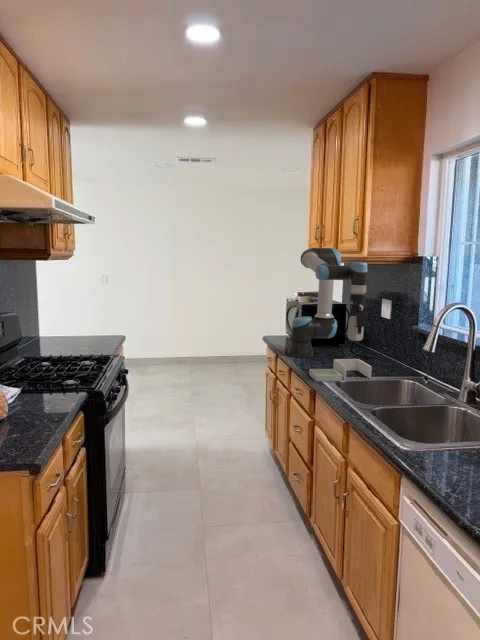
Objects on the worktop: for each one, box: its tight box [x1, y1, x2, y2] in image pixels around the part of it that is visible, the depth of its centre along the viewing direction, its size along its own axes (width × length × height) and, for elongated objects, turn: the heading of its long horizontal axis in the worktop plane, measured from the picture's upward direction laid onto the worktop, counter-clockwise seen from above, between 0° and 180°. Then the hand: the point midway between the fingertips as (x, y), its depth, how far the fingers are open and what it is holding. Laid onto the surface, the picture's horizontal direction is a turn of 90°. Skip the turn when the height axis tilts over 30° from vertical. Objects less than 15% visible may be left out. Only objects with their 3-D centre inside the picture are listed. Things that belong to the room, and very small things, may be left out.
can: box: [347, 316, 365, 342], centre depth 239 cm, size 8×8×12 cm
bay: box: [332, 358, 373, 379], centre depth 244 cm, size 17×14×6 cm
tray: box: [308, 368, 343, 382], centre depth 236 cm, size 13×13×3 cm
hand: (355, 338), depth 239 cm, fingers closed on can, 7 cm apart
